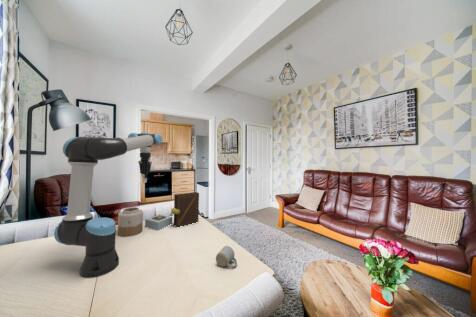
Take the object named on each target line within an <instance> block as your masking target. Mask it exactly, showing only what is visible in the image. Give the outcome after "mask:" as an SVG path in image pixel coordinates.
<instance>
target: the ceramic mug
mask: <svg viewBox="0 0 476 317" xmlns="http://www.w3.org/2000/svg"><path fill="white" fill-rule="evenodd" d="M215 261H216V263H217V265H218V266H220V267H222V268H224V267H229V269H235V268H236V267H237V264H238V261H237V259H236V258H235V251H234V249H233V248H232V247H231V246H230V245H225V246H224V247H223V248H221V249H220V250H219V251H218V252H217V254H216V255H215ZM232 261H233V262H234V264H235V265H232V264H230V262H232Z"/></svg>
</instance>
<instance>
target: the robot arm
mask: <svg viewBox="0 0 476 317" xmlns="http://www.w3.org/2000/svg"><path fill="white" fill-rule="evenodd" d="M162 142H163V136H162V135H161V134H159V133H151V132H144V131H142V132H140V133H136V132H130V133H129V134H128V136H127V137H126V138H125V137H124V138H121V137H102V136H101V137H100V136H99V137H98V136H97V137H95V136H76V137H72V138H71V137H70V138H69V139H68V140H66V141H65V142H64V144H63V146H62V153H63V155H64V156H65V157H66V158H67V163H68V164H69V165H70V166H71V171H70V180H69V188H68V189H69V190H68V203H67V212H66V215H65V216H63V217H62V219H61V221H60V222H59V223H58V224H57V226H56V227H55V228H54V232H53V236H54V240H55V241H56V242H58V243H59V244H62V245H66V246H75V247H76V246H77V247H85V255H84V259H83V261H82V264H81V266H80V267H79V268H80V269H79V275H80V276H81V277H82V278H97V277H100V276H103V275H105V274H108V273H110V272H112V271H113V270H115V269H116V268H117V267H118V266H119V263H120V257H119V255H118V253H117V249H116V234H117V226H116V220H114V219H113V218H109V217H104V216H103V217H95V218H94V216H93V214H92V213H91V212H90V211H91V202H92V191H93V190H92V189H93V179H94V178H93V177H94V167H95V166H97V165H98V164H99V162H98V161H103V160H107V159H112V158H115V157H119V156H122V155H125V154H126V153H127V152H130V151H133V150H137V149H139V158H140V160H138V161H137V162H138V166H139V172H140V174H142V177H141V178H142V183H144V184H145V183H147V182H148V174H150V172H151V168H152V163H153V161H151V159H150V158H151V157H152V156H151V155H152V153H151V152H152V150H151V149H152V146H153V145H162Z"/></svg>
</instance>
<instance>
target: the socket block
mask: <svg viewBox="0 0 476 317" xmlns="http://www.w3.org/2000/svg"><path fill="white" fill-rule="evenodd" d="M157 216H162V218H160V219H156V217H157ZM170 224H172V225H173V216H169V215H165V214H157V215H154V216H150V217H148V218H145V219H144V227H145V228H147V227H148V228H147V229H150V228H151V230H154V229H155V230H154V231H157V230H158V231H160V229H161V230H162V228H163V229H165V228H167V227H169V226H168V225H170ZM166 226H167V227H166ZM170 226H171V225H170ZM164 227H165V228H164Z"/></svg>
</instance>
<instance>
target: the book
mask: <svg viewBox="0 0 476 317" xmlns="http://www.w3.org/2000/svg"><path fill="white" fill-rule="evenodd" d="M199 205H200V193H199V192H197V191H194V192H185V193H177V194H174V198H173V208H171V214H172V215H173V226H174V225H176V226H175V228H176V227H179V228H181V227H180V226H183V227H185V226H184V225H187V226H189V225H188V224H192V223H196V222H198V223H199V210H200V209H199V207H200V206H199ZM196 224H197V223H196ZM192 225H193V224H192Z"/></svg>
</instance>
